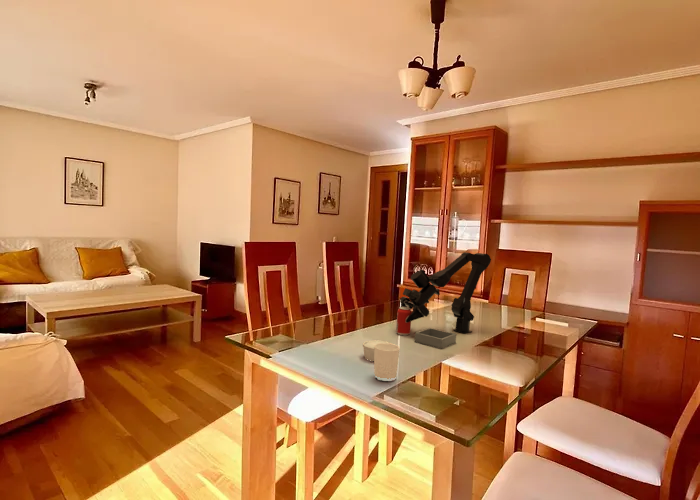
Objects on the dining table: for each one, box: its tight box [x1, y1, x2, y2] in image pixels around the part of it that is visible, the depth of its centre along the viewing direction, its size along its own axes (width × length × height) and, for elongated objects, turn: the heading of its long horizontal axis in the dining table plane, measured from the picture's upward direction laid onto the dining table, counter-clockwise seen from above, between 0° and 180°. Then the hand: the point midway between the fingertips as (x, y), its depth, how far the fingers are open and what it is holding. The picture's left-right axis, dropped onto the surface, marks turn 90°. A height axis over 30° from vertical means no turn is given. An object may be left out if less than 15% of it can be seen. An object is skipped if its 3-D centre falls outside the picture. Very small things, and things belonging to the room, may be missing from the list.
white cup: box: [373, 342, 401, 379], centre depth 117 cm, size 8×8×10 cm
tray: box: [414, 327, 457, 350], centre depth 159 cm, size 13×13×4 cm
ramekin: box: [362, 339, 393, 362], centre depth 136 cm, size 11×11×5 cm
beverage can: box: [395, 306, 412, 337], centre depth 170 cm, size 6×6×12 cm
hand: (401, 319), depth 169 cm, fingers open, 9 cm apart
